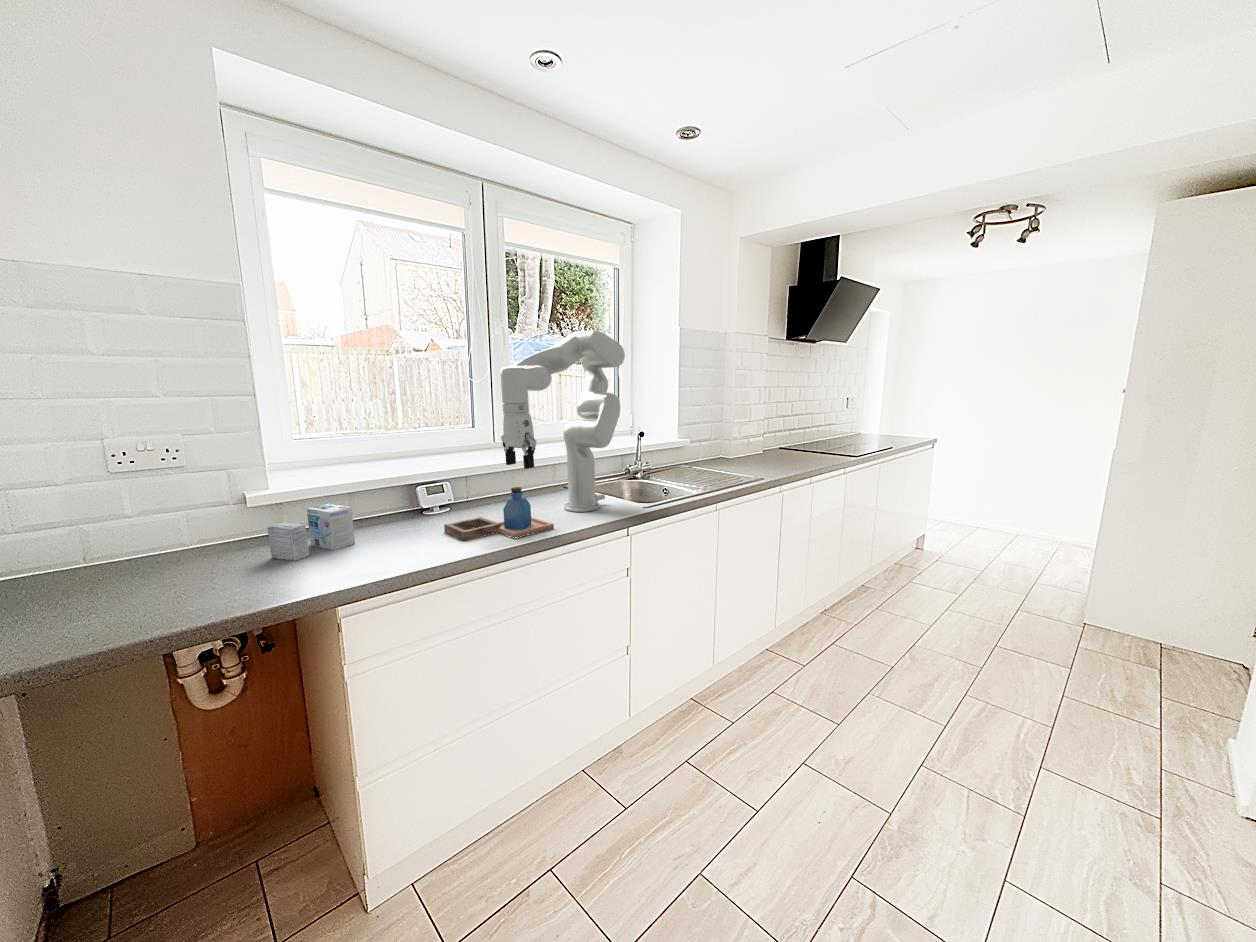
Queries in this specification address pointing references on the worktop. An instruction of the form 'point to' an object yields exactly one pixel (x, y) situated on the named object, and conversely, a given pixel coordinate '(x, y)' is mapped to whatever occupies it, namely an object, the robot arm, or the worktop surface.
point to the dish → (535, 527)
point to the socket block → (459, 527)
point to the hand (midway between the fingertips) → (519, 466)
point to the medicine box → (288, 541)
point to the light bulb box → (331, 526)
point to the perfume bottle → (517, 511)
